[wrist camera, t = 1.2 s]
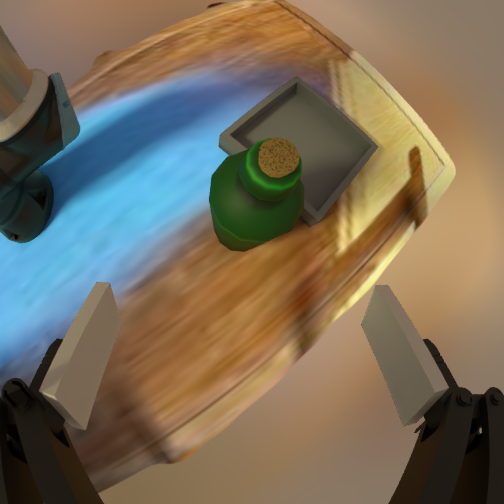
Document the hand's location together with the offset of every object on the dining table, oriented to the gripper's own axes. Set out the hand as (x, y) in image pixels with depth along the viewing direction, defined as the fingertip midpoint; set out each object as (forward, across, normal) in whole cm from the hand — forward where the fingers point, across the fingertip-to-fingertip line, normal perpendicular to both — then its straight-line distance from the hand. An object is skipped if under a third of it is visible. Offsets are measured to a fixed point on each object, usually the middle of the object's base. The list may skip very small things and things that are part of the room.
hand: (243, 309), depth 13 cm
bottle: (+34, 0, -12) cm, 36 cm away
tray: (+44, +12, +1) cm, 46 cm away
